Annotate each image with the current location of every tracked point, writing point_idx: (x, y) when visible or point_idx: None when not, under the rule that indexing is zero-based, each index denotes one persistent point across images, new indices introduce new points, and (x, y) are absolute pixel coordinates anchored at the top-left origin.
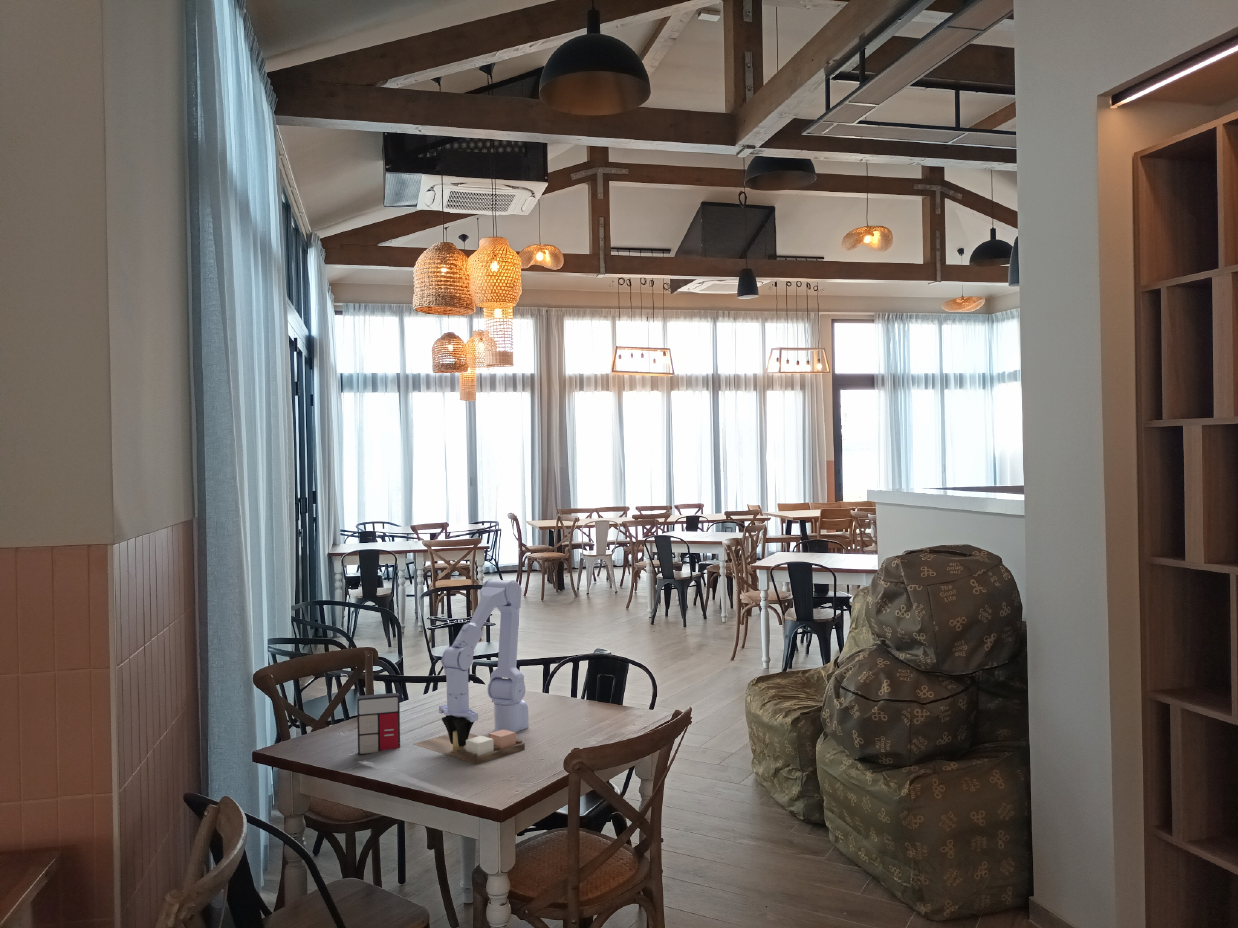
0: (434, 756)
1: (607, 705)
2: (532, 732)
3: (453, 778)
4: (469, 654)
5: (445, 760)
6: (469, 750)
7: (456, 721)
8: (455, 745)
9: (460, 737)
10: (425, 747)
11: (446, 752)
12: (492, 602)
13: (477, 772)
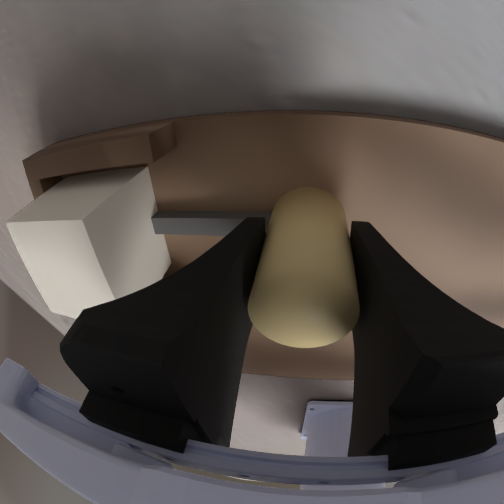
0: (399, 92)
1: None
2: (291, 432)
3: (18, 22)
4: None
5: (265, 80)
6: (92, 187)
7: (87, 345)
8: (293, 207)
9: (213, 251)
10: None
11: (340, 144)
12: None
13: (20, 123)
